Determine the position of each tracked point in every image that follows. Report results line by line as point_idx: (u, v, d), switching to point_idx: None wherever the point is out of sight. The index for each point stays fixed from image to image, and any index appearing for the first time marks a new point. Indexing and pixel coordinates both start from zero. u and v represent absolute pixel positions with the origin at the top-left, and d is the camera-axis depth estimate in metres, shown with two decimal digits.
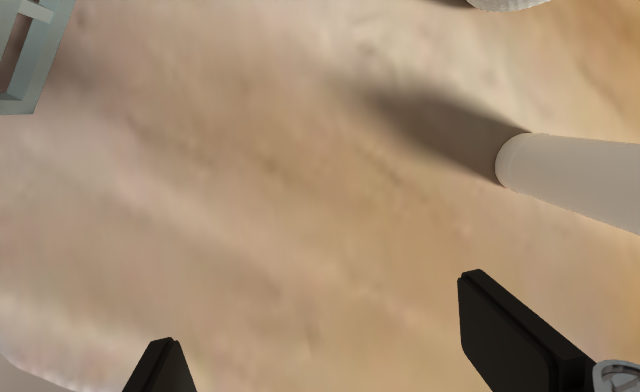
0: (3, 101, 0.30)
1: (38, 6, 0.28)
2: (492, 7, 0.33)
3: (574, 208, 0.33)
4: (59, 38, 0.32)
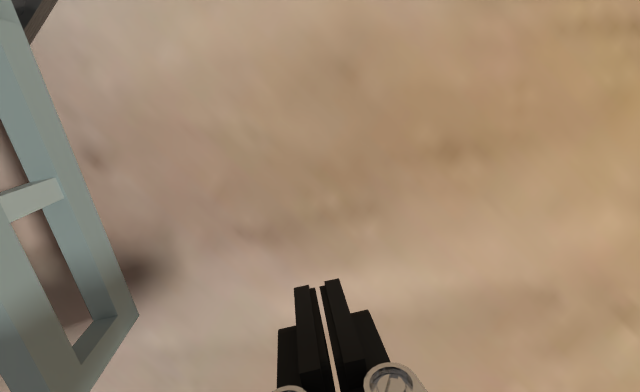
0: (99, 343, 0.18)
1: (30, 188, 0.16)
2: None
3: None
4: (91, 204, 0.20)
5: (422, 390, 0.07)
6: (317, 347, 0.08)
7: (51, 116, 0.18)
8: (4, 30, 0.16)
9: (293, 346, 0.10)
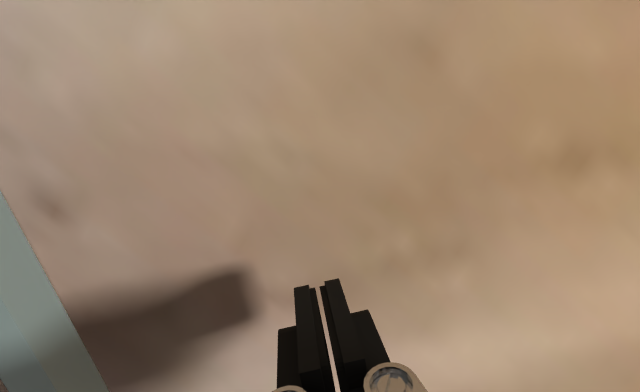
0: None
1: None
2: None
3: None
4: (43, 282, 0.13)
5: (422, 390, 0.07)
6: (317, 346, 0.08)
7: None
8: None
9: (293, 345, 0.10)
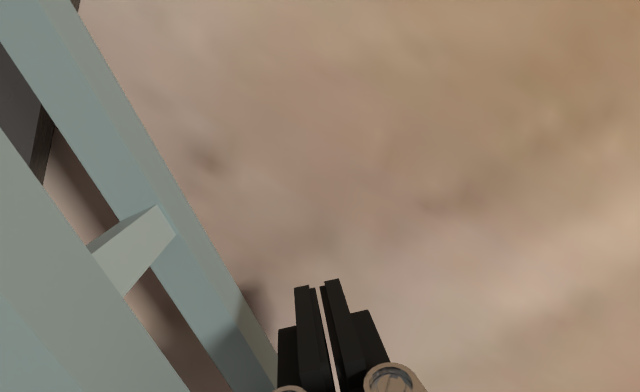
0: None
1: (132, 227, 0.09)
2: None
3: None
4: (206, 238, 0.13)
5: (422, 390, 0.07)
6: (317, 346, 0.08)
7: (127, 110, 0.11)
8: None
9: (294, 345, 0.10)
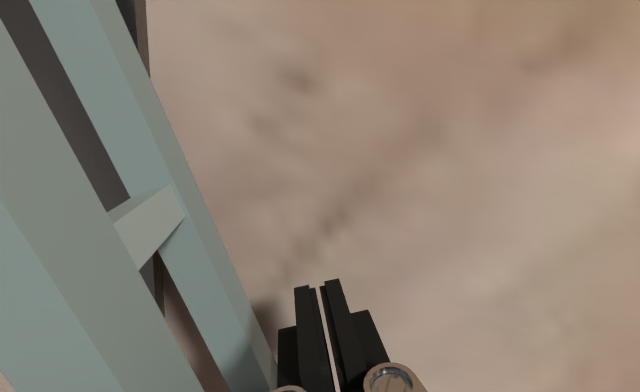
0: None
1: (147, 203, 0.09)
2: None
3: None
4: (211, 223, 0.13)
5: (422, 390, 0.07)
6: (317, 346, 0.08)
7: (147, 87, 0.11)
8: None
9: (293, 345, 0.10)
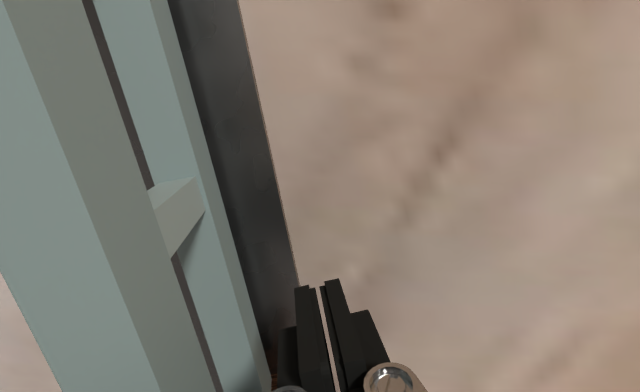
0: None
1: (178, 194, 0.09)
2: None
3: None
4: (225, 219, 0.13)
5: (422, 390, 0.07)
6: (317, 346, 0.08)
7: (184, 78, 0.11)
8: None
9: (293, 346, 0.10)
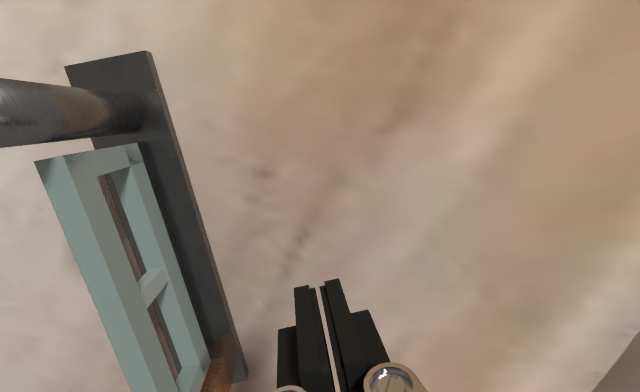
0: (191, 387, 0.25)
1: (153, 280, 0.23)
2: None
3: None
4: (182, 280, 0.27)
5: (422, 390, 0.07)
6: (317, 346, 0.08)
7: (160, 222, 0.25)
8: (137, 171, 0.24)
9: (293, 345, 0.10)
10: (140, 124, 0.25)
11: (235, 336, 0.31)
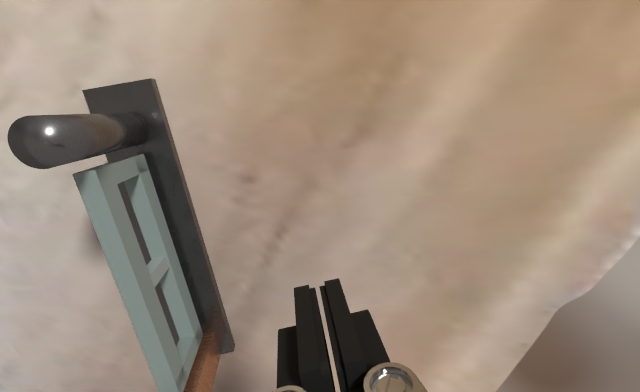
0: (188, 353, 0.31)
1: (158, 266, 0.29)
2: None
3: None
4: (179, 267, 0.33)
5: (422, 390, 0.07)
6: (317, 346, 0.08)
7: (162, 219, 0.31)
8: (144, 177, 0.29)
9: (293, 345, 0.10)
10: (146, 138, 0.30)
11: (224, 314, 0.36)
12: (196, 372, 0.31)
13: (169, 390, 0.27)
